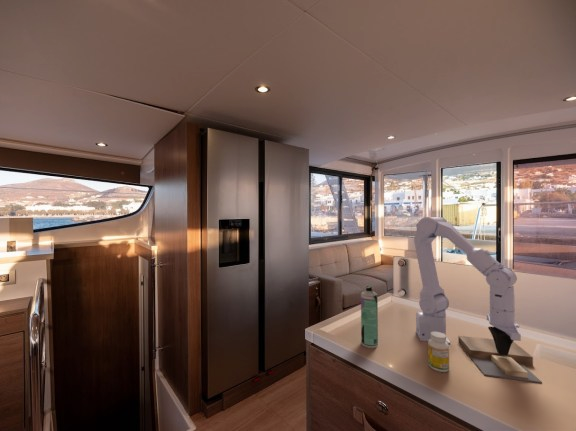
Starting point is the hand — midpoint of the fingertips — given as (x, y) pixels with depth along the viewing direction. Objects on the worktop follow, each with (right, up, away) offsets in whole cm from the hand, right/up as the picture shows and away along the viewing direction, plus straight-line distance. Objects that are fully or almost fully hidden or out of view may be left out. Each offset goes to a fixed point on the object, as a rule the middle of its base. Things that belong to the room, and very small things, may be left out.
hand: (502, 353), depth 77 cm
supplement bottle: (-20, -3, -2) cm, 20 cm away
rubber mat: (-2, -3, -3) cm, 5 cm away
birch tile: (-1, -3, -3) cm, 4 cm away
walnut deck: (+2, -3, +6) cm, 7 cm away
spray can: (-36, -3, +12) cm, 38 cm away
